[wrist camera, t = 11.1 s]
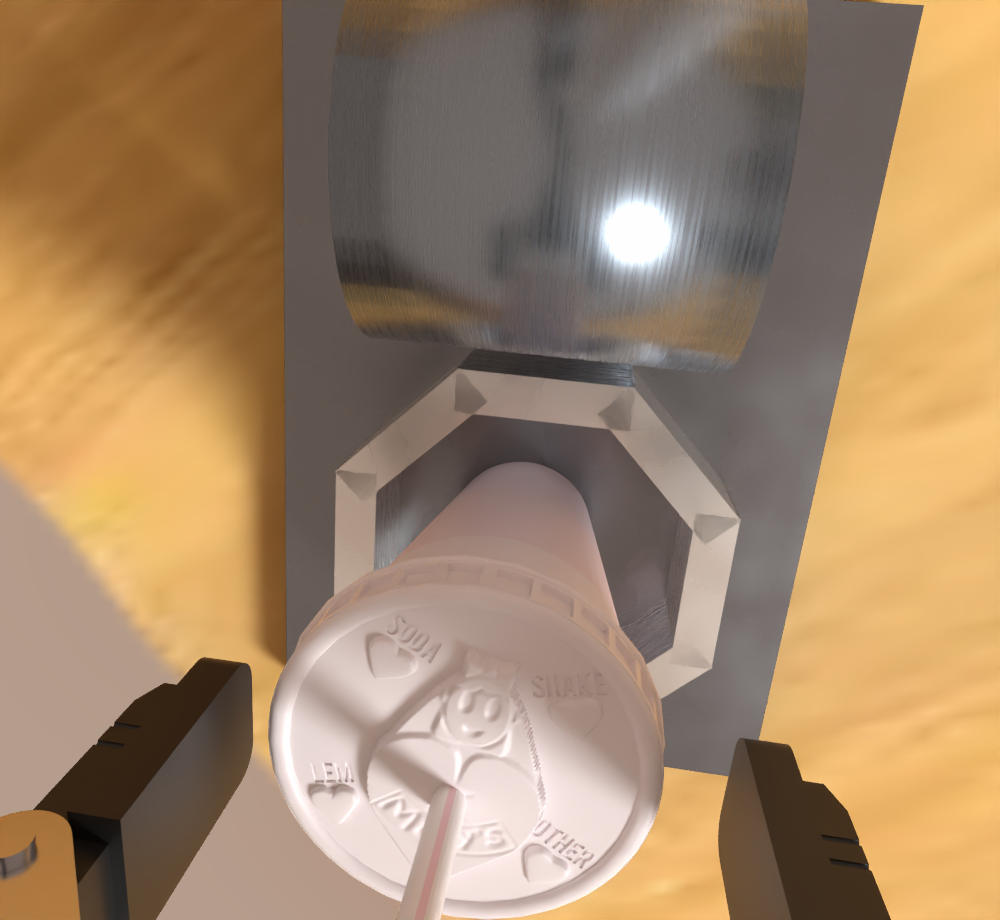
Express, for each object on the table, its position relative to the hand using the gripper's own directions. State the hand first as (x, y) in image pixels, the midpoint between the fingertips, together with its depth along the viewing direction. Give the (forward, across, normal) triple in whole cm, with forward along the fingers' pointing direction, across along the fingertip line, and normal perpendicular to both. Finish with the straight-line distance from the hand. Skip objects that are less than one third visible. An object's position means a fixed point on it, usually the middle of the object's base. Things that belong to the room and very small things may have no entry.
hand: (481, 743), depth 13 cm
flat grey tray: (+10, 0, -3) cm, 11 cm away
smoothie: (+9, 0, 0) cm, 9 cm away
